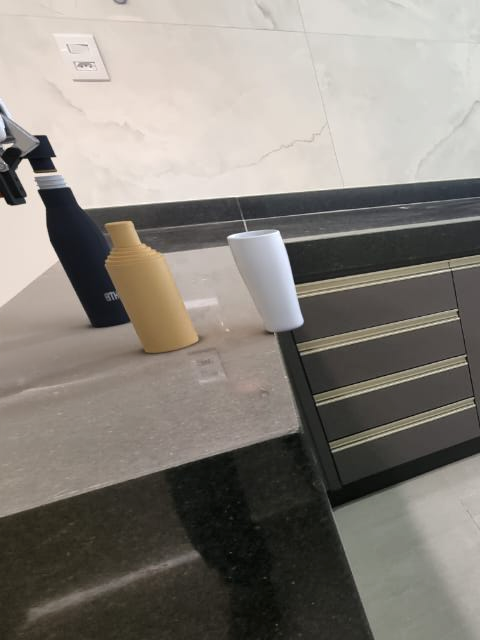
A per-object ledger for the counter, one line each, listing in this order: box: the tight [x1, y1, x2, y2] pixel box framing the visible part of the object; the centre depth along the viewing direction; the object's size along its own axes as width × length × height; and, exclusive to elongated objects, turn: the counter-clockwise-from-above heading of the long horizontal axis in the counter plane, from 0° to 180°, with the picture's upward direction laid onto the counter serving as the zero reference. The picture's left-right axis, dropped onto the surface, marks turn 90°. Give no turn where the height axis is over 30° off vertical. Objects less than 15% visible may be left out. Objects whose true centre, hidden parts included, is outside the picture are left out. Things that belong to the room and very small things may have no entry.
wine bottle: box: [13, 134, 131, 328], centre depth 86 cm, size 6×6×30 cm
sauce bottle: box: [104, 220, 199, 354], centre depth 76 cm, size 6×6×18 cm
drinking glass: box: [226, 229, 305, 334], centre depth 81 cm, size 7×7×15 cm
